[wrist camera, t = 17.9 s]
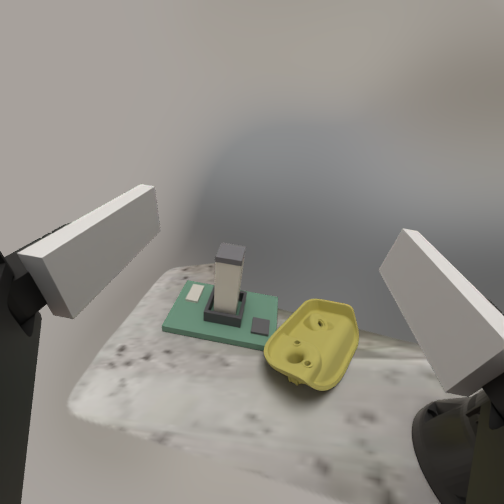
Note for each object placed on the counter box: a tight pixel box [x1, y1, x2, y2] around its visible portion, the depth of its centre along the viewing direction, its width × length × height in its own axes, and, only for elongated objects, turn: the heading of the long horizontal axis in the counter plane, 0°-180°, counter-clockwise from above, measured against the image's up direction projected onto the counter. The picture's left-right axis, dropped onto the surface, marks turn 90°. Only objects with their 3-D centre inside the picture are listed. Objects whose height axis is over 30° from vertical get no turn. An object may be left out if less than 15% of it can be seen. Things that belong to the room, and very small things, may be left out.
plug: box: [214, 243, 246, 315], centre depth 39 cm, size 4×4×14 cm
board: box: [162, 280, 278, 351], centre depth 43 cm, size 20×12×4 cm, turn 83°
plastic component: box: [264, 299, 359, 391], centre depth 39 cm, size 20×7×10 cm
